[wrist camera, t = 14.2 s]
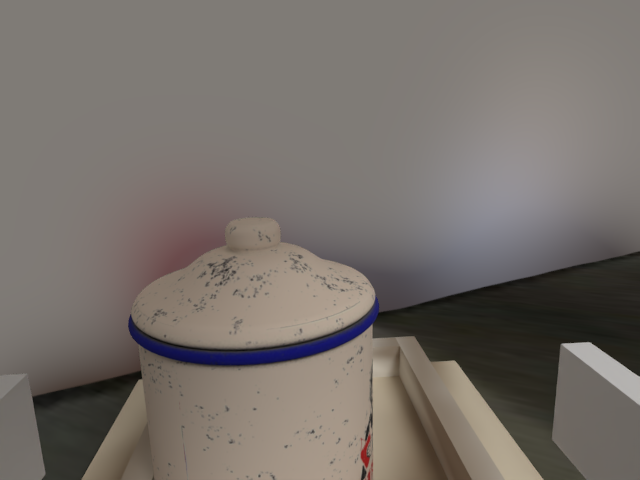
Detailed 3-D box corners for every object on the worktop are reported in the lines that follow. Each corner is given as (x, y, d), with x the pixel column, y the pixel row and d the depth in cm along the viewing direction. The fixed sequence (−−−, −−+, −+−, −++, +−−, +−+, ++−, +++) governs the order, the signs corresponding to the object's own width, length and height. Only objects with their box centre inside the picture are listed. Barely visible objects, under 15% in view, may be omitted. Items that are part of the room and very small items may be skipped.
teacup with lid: (424, 542, 18) (432, 229, 15) (165, 647, 14) (118, 268, 12) (306, 388, 29) (299, 190, 26) (143, 427, 25) (115, 204, 23)
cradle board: (454, 381, 32) (456, 331, 31) (665, 694, 14) (682, 597, 13) (141, 401, 30) (135, 349, 30) (-52, 773, 13) (-80, 671, 12)
